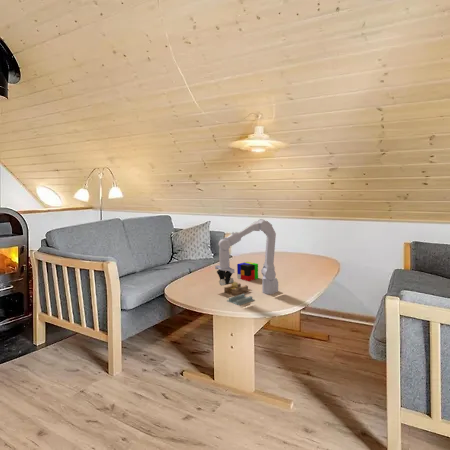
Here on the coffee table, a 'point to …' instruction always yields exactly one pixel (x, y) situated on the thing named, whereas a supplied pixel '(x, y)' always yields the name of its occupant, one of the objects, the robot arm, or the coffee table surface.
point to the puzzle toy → (247, 271)
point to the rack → (240, 299)
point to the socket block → (234, 291)
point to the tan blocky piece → (234, 286)
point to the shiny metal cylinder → (222, 281)
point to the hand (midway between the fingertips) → (224, 283)
